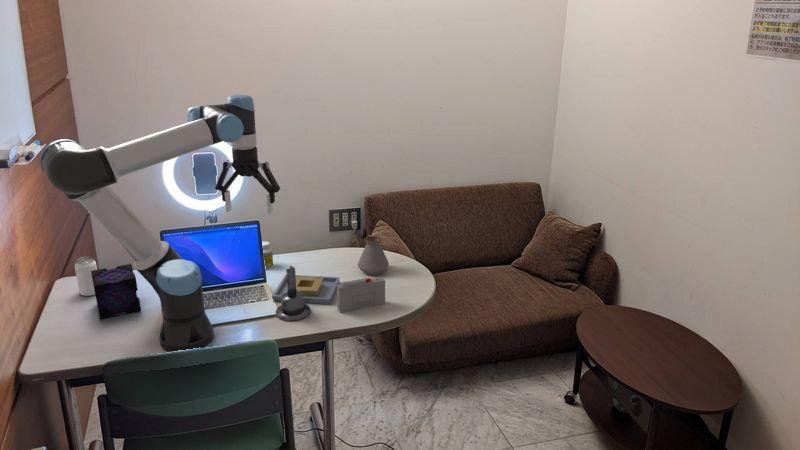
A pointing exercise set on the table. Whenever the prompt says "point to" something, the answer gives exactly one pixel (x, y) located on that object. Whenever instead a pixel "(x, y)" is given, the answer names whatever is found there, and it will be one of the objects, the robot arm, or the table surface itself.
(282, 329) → the table surface
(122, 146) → the robot arm
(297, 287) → the ring
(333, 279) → the tray
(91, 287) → the can
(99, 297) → the energy cube
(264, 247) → the supplement bottle
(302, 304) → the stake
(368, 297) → the cassette player
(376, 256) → the coffee pot
